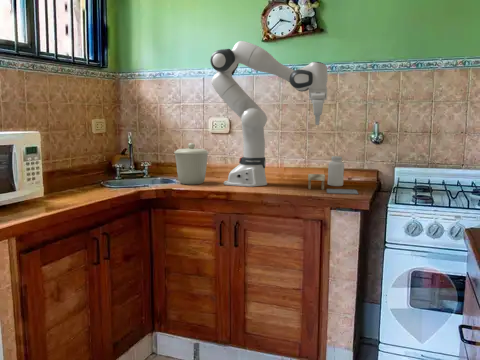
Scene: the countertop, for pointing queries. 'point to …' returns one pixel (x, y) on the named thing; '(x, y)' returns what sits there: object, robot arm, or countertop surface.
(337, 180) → the pill bottle
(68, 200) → the countertop surface
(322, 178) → the stool
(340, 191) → the mat
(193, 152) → the canister
